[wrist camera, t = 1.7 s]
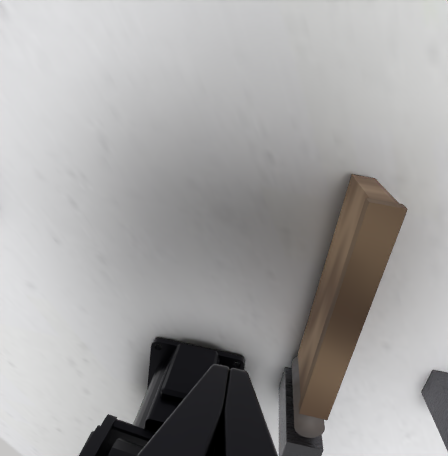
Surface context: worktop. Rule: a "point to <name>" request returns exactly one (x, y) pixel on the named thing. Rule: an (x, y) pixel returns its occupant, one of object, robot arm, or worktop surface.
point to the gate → (343, 299)
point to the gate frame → (312, 447)
